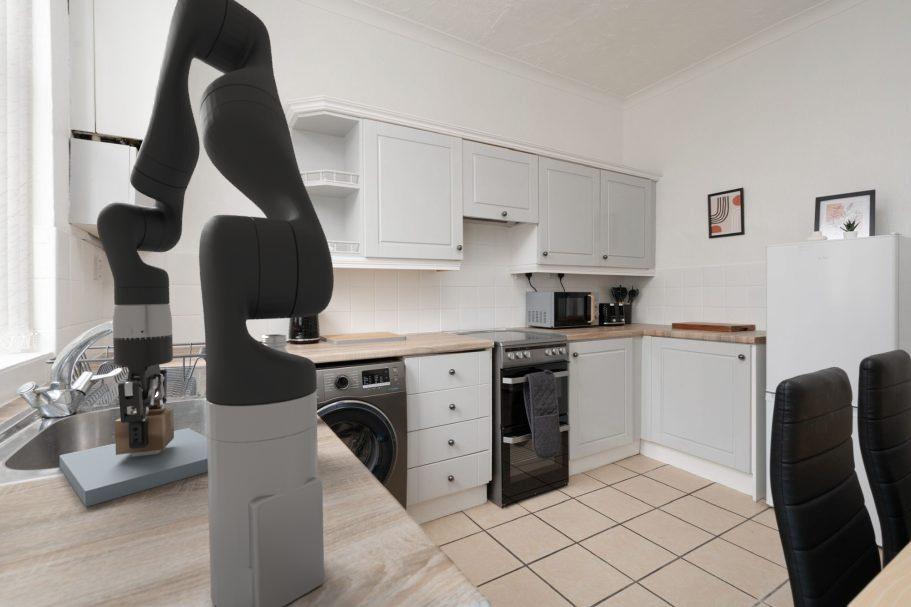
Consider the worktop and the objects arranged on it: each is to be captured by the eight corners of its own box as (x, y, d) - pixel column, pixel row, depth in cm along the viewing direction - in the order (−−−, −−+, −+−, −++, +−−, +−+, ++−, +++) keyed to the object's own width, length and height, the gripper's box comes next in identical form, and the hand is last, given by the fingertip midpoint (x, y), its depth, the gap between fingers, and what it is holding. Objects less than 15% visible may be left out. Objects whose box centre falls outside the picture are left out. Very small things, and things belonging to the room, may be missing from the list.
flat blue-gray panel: (233, 464, 69) (232, 426, 69) (85, 506, 55) (84, 459, 55) (188, 438, 82) (187, 406, 82) (59, 468, 68) (58, 429, 68)
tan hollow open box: (174, 437, 72) (173, 407, 72) (163, 449, 67) (162, 416, 66) (130, 442, 70) (130, 411, 70) (115, 454, 65) (114, 421, 64)
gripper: (157, 336, 63) (160, 452, 63) (183, 329, 76) (185, 425, 76) (93, 338, 60) (96, 460, 60) (132, 331, 74) (134, 430, 74)
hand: (146, 440), depth 68 cm, fingers open, 6 cm apart
